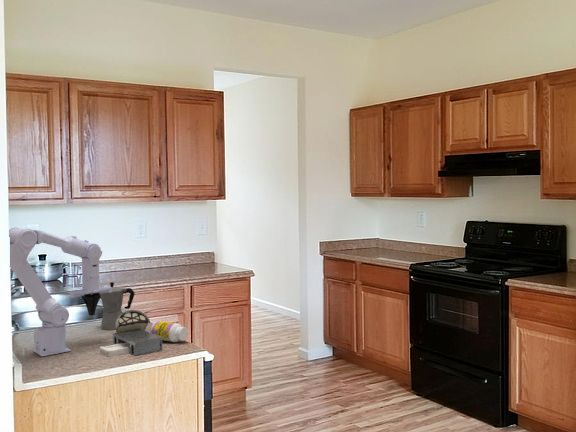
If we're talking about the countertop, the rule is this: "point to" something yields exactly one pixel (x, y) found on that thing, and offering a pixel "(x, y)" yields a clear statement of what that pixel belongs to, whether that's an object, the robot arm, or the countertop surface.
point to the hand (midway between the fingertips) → (91, 314)
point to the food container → (132, 321)
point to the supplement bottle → (169, 331)
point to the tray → (115, 349)
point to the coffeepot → (114, 306)
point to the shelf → (139, 341)
